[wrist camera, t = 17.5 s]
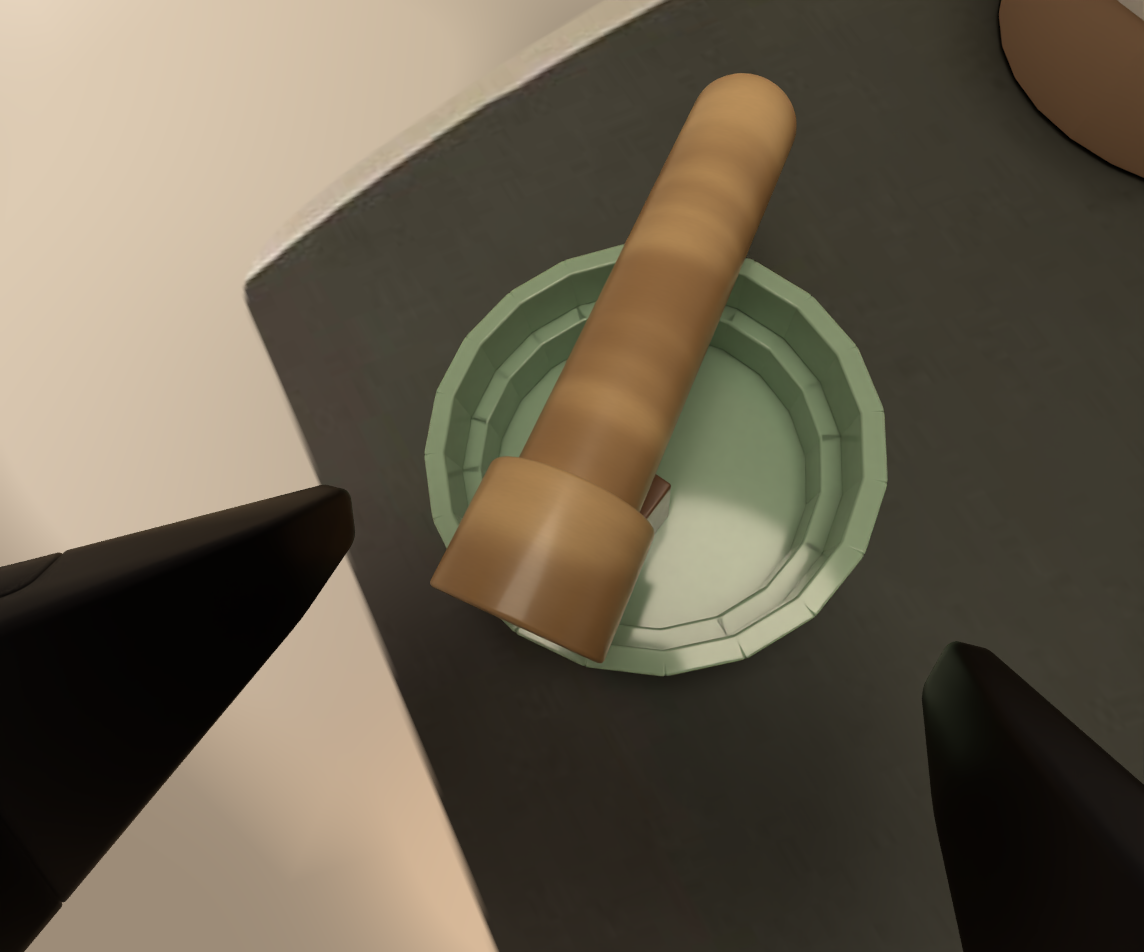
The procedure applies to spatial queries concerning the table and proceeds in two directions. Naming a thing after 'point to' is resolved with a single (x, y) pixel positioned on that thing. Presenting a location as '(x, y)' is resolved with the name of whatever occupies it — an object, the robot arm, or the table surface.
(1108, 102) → the bowl
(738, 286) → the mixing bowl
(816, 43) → the table surface
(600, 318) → the pestle
